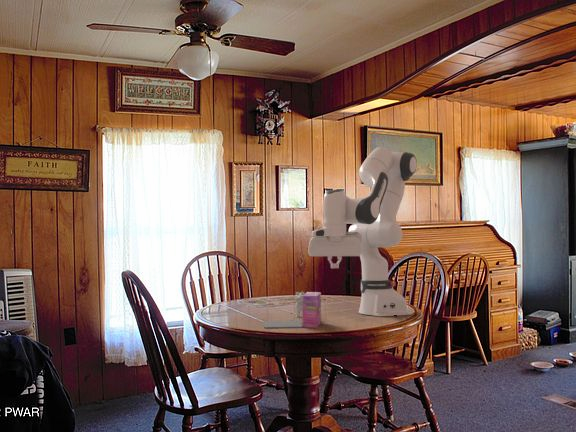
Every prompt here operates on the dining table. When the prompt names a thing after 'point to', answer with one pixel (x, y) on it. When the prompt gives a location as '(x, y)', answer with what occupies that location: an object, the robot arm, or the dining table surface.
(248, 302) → the dining table surface
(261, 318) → the dining table surface
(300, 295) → the dog figurine
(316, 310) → the box
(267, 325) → the mat
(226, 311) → the dining table surface
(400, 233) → the robot arm
